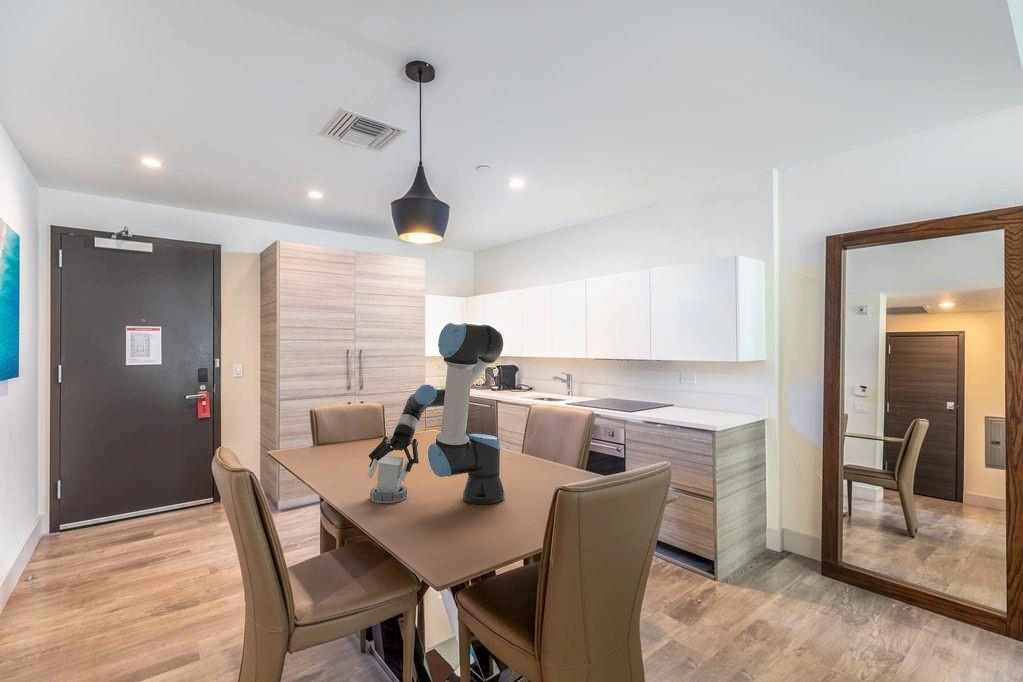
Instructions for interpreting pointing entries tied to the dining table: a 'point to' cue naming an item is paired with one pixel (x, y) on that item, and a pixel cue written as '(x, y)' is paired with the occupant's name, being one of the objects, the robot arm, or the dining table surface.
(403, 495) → the round holder
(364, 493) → the dining table surface
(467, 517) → the dining table surface
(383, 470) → the supplement box
